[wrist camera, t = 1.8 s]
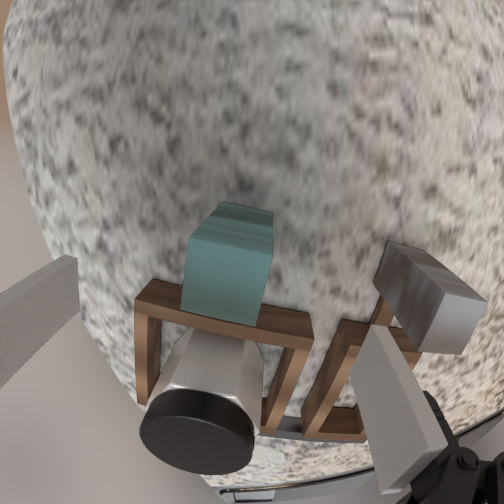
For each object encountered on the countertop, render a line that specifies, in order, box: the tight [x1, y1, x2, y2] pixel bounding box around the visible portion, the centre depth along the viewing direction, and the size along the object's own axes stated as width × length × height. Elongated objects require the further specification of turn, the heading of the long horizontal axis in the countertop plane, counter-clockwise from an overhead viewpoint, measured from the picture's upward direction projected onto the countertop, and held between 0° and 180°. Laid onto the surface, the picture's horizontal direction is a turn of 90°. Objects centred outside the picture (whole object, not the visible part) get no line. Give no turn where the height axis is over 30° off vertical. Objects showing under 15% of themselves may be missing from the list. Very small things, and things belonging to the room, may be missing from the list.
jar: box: [139, 327, 264, 475], centre depth 23 cm, size 9×8×12 cm
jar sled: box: [134, 202, 315, 434], centre depth 22 cm, size 21×14×10 cm
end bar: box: [257, 416, 367, 443], centre depth 30 cm, size 2×25×2 cm, turn 78°
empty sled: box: [301, 241, 488, 440], centre depth 22 cm, size 21×7×10 cm, turn 168°
